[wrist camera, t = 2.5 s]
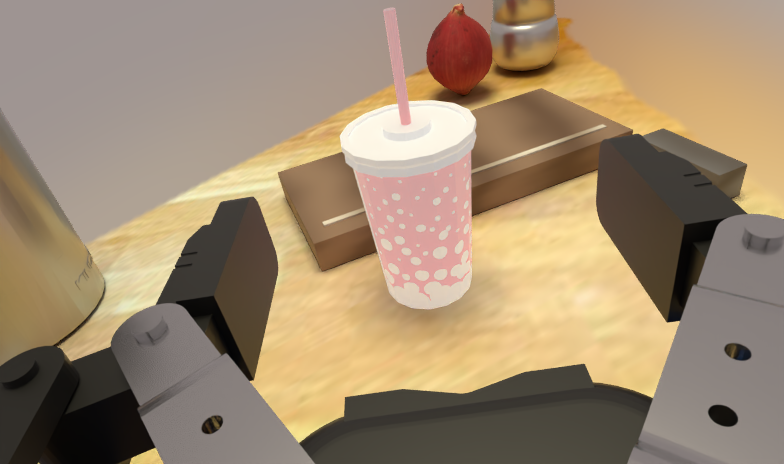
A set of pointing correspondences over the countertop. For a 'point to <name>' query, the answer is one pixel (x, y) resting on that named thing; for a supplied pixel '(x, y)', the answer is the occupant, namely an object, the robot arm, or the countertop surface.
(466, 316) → the countertop surface
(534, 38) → the plastic bottle
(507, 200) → the walnut board
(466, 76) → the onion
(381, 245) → the beverage cup
